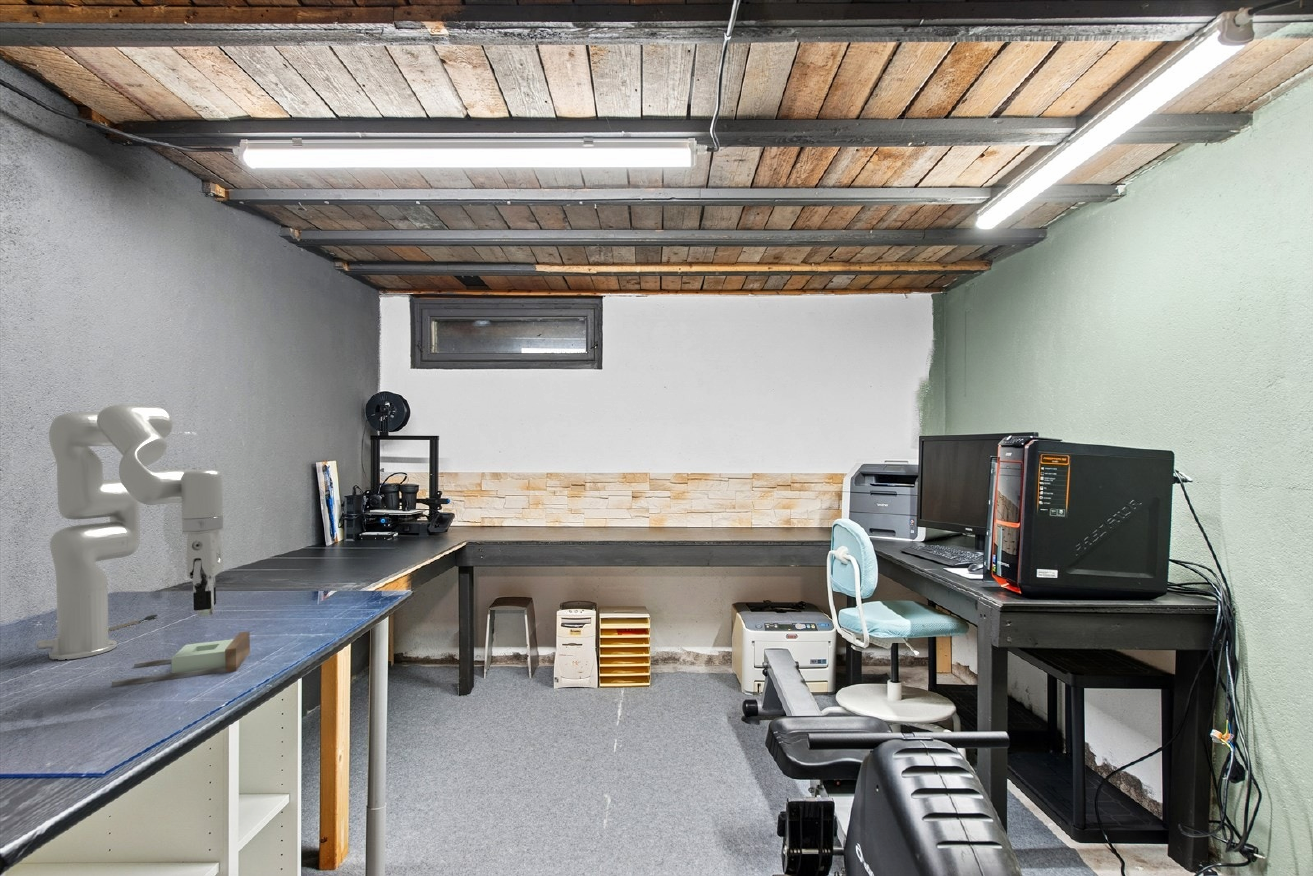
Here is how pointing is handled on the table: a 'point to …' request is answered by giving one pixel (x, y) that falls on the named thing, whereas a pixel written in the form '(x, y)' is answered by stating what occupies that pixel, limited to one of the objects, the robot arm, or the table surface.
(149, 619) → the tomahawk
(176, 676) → the rail board
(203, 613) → the grey round-ended peg
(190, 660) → the sliding block
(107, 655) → the table surface
